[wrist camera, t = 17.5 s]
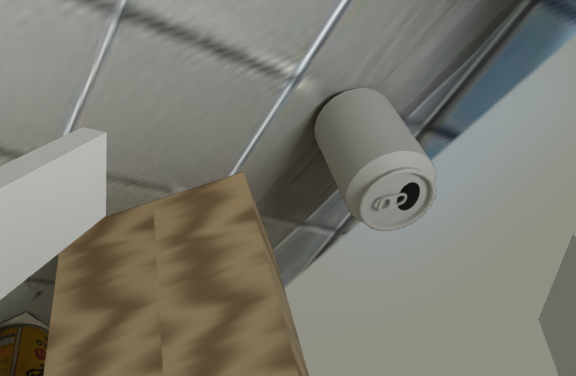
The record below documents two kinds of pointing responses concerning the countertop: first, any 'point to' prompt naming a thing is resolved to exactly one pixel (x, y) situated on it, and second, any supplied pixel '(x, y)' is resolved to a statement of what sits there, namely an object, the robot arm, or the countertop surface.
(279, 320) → the notch post
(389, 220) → the can
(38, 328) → the condiment
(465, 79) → the countertop surface
